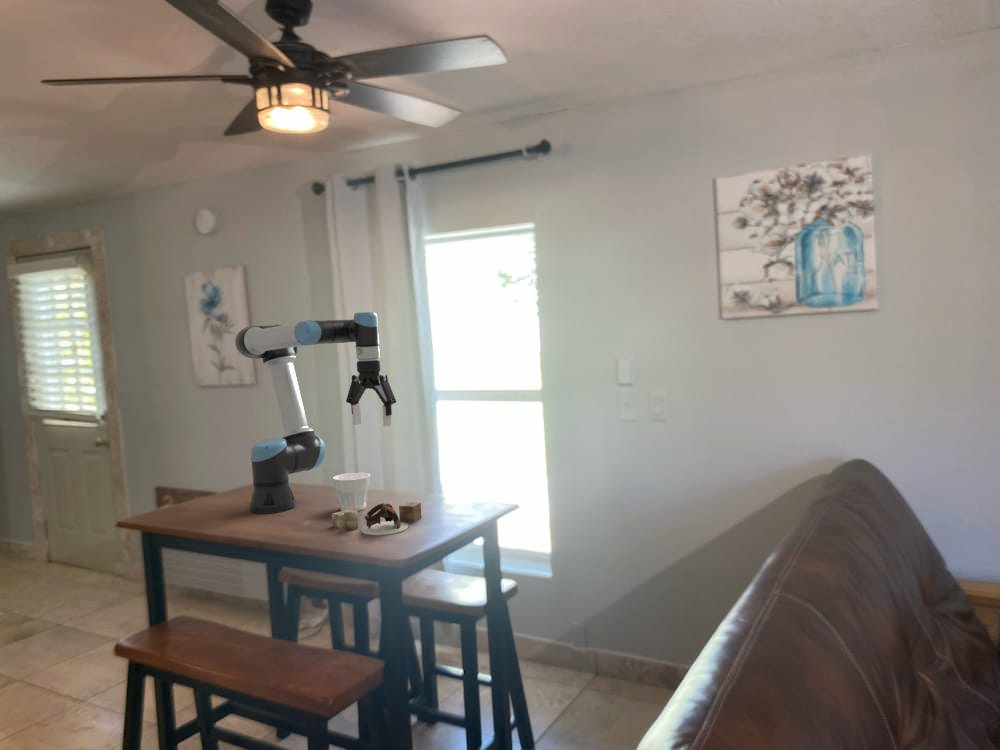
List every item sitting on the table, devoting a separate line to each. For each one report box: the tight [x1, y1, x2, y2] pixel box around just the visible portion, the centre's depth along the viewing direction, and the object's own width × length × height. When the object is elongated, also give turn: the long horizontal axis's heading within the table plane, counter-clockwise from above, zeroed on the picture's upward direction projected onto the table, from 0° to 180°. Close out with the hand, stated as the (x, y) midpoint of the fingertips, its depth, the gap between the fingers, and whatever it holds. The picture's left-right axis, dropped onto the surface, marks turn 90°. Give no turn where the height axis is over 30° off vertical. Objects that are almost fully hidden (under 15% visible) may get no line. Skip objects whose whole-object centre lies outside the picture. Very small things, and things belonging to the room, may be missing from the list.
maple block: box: [331, 510, 351, 529], centre depth 225 cm, size 4×6×4 cm, turn 135°
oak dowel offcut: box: [344, 510, 359, 531], centre depth 220 cm, size 4×4×5 cm
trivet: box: [360, 520, 409, 537], centre depth 218 cm, size 14×14×1 cm
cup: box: [332, 472, 371, 512], centre depth 245 cm, size 12×12×11 cm
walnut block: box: [398, 501, 422, 523], centre depth 227 cm, size 5×5×5 cm
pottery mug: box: [364, 502, 401, 529], centre depth 218 cm, size 12×10×8 cm
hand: (372, 425), depth 237 cm, fingers open, 13 cm apart
